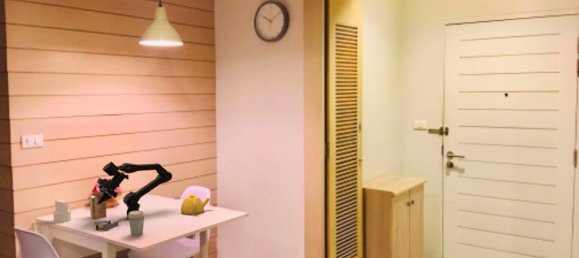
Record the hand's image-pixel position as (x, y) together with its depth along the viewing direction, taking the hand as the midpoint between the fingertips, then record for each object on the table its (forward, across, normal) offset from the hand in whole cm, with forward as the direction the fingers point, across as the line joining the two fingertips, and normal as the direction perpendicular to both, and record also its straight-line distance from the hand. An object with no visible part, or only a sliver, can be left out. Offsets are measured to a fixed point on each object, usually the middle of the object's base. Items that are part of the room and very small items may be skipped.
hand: (97, 202), depth 267 cm
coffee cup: (+2, +34, +16) cm, 37 cm away
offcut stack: (+10, +13, +8) cm, 18 cm away
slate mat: (+8, 0, +10) cm, 12 cm away
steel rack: (+8, +11, +10) cm, 17 cm away
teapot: (-30, +12, +48) cm, 58 cm away
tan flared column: (+4, 0, +6) cm, 7 cm away
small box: (+6, -14, +12) cm, 20 cm away
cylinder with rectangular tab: (+19, -19, -2) cm, 27 cm away
